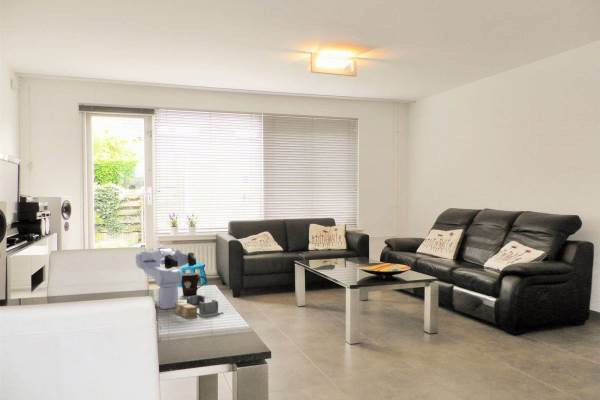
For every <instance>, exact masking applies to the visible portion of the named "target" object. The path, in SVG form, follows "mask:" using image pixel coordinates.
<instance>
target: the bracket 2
mask: <svg viewBox="0 0 600 400" xmlns="http://www.w3.org/2000/svg"><path fill="white" fill-rule="evenodd" d="M218 310H219V301H218V300H216V299H211V301H208V302H207V301H206V302H205V303H203V302H199V313H201V314H203V315H205V314H211V313H217V312H218Z"/></svg>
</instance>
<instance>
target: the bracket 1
mask: <svg viewBox="0 0 600 400" xmlns="http://www.w3.org/2000/svg"><path fill="white" fill-rule="evenodd" d="M205 300H206V299H205V296H204V295H201V294H199V295H194V296H186V303H188V304H190V305H193V306H195V307H197V308H199V302H203V303H206V301H205Z"/></svg>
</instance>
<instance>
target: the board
mask: <svg viewBox="0 0 600 400" xmlns="http://www.w3.org/2000/svg"><path fill="white" fill-rule="evenodd" d="M223 314H224V312H223V311H221V310H219V309H218V312H217V313H211V314H205V315H203V314H201V313H199V308H197V316H200V317H202V318H207V317H213V316H218V315H223Z"/></svg>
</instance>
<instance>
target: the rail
mask: <svg viewBox="0 0 600 400" xmlns="http://www.w3.org/2000/svg"><path fill="white" fill-rule="evenodd" d="M174 312H175V313H176V314H179V315H180V316H183V317H185V318H187V319H192V318H197V317H198V315H197V307H195V306H193V305H190V304H188V303H187V302H185V301H178V302H177V303H175V308H174Z"/></svg>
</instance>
